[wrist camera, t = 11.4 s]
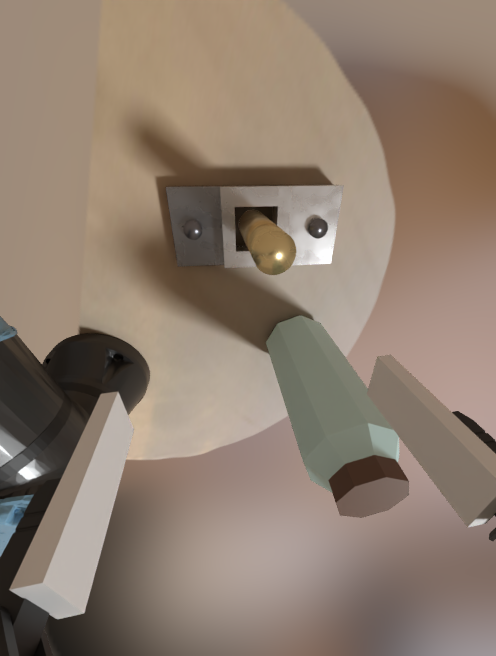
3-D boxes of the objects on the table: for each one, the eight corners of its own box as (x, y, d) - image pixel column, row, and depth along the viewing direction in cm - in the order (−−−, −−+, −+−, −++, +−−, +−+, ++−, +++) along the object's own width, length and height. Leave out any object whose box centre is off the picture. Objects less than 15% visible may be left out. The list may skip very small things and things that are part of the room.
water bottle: (267, 311, 40) (330, 470, 18) (328, 311, 41) (453, 459, 20) (261, 362, 45) (306, 531, 23) (316, 360, 46) (404, 520, 25)
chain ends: (179, 263, 34) (175, 272, 31) (167, 186, 29) (162, 187, 26) (322, 257, 36) (332, 265, 33) (333, 184, 31) (346, 185, 28)
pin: (238, 239, 33) (253, 275, 22) (238, 210, 32) (253, 231, 20) (265, 239, 34) (294, 273, 22) (266, 209, 32) (298, 230, 20)
